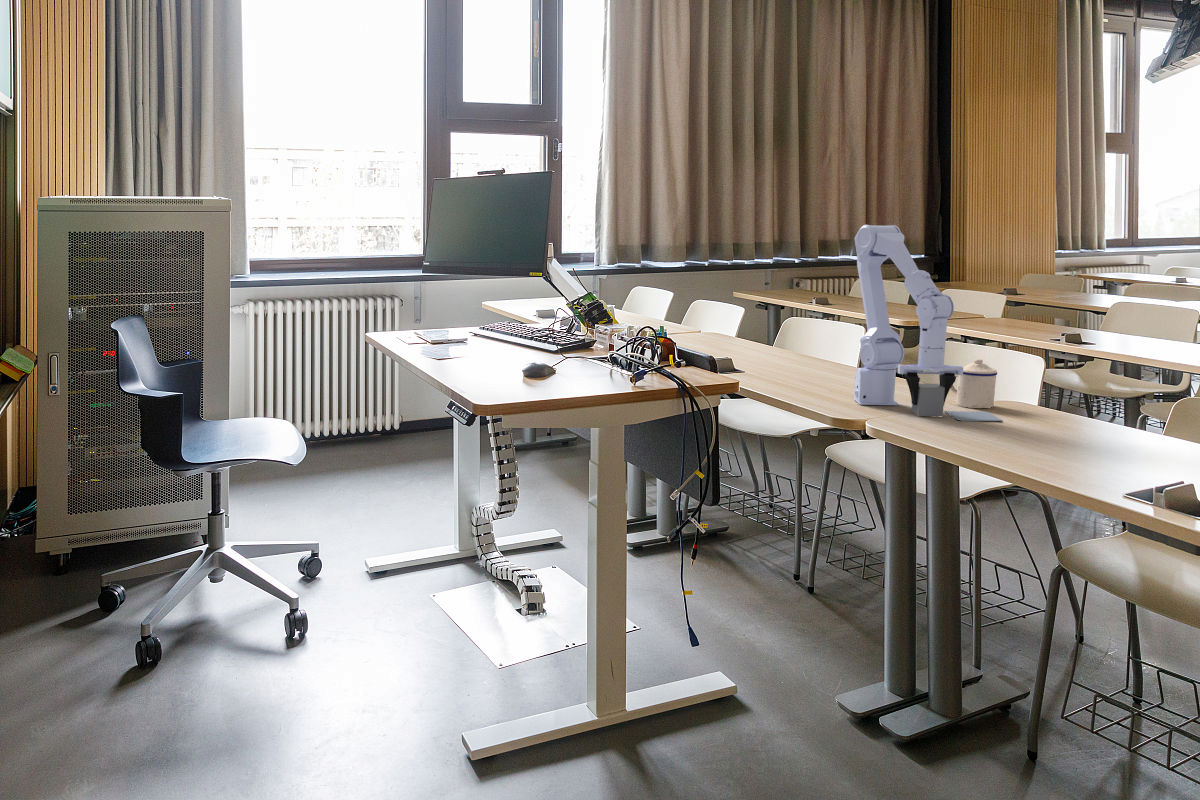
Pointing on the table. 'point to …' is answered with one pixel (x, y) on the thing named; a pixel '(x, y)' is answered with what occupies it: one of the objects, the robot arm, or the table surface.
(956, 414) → the slate mat
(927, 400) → the blue-gray cube on pad
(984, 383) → the teacup with lid
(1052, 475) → the table surface
